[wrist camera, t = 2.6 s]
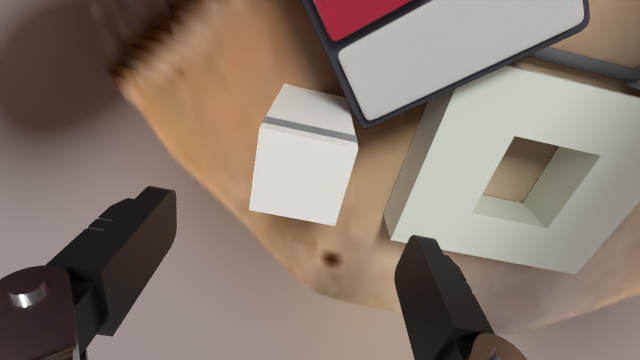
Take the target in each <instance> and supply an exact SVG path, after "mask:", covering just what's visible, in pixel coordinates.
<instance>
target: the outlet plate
mask: <svg viewBox="0 0 640 360" xmlns="http://www.w3.org/2000/svg"><path fill="white" fill-rule="evenodd" d="M514 136H517V137H521V138H526V139H530V140H534V141H539V142H543V143H548V144H552V145H556V146H559V148H558V149H557V151H556V152H555V154H554V156H553V157H552V159H551V160H550V162H549V163H548V165H547V166H546V168H545V169H544V171H543V172H542V174H541V176H540V177H539V179H538V180H537V182H536V183H535V185H534V186H533V188H532V189H531V191H530V192H529V194H528V195H527V197H526V199H525V200H524V202H523V203H519V202H514V201H509V200H504V199H499V198H494V197H489V196H485V195H482V193H483V191H484V190H485V188H486V186H487V184H488V182H489V181H490V179H491V177H492V175H493V174H494V172H495V170H496V168H497V166H498V165H499V163H500V161H501V159H502V158H503V156H504V154H505V152H506V151H507V149H508V147H509V145H510V143H511V142H512V140H513V138H514ZM639 202H640V97H638V96H634V95H630V94H626V93H622V92H618V91H614V90H610V89H606V88H601V87H597V86H593V85H589V84H585V83H581V82H577V81H573V80H569V79H565V78H561V77H557V76H553V75H549V74H545V73H541V72H537V71H533V70H529V69H525V68H521V67H517V66H513V65H507V66H505V67H502V68H500V69H498V70H496V71H494V72H491V73H489V74H487V75H485V76H483V77H480V78H478V79H476V80H474V81H472V82H470V83H467V84H465V85H463V86H461V87H459V88H456V89H454V90H452V91H450V92H448V93H446V94H443V95H441V96H439V97H437V98H435V99H432V100H430V101H428V102H427V105H426V107H425V110H424V113H423V115H422V118H421V120H420V123H419V125H418V128H417V130H416V133H415V135H414V138H413V140H412V143H411V146H410V148H409V151H408V153H407V156H406V158H405V161H404V163H403V166H402V168H401V171H400V174H399V176H398V179H397V181H396V184H395V186H394V189H393V191H392V194H391V196H390V199H389V202H388V204H387V207H386V209H385V212H384V218H385V222H386V225H387V229H388V233H389V236H390V240H393V241H398V242H403V243H407V242H408V240H409V238H410V237H411V236H412V235H418V236H423V237H429V238H434V239H436V240H437V242H438V244H439V246H440V248H441V250H446V251H451V252H457V253H462V254H467V255H473V256H478V257H483V258H489V259H494V260H500V261H505V262H510V263H516V264H521V265H526V266H532V267H537V268H542V269H548V270H553V271H558V272H564V273H569V274H574V275H576V274H577V273H578V272H579V271H580V270H581V268H582V267H583V266H584V265H585V264H586V263H587V262H588V260H589V259H590V258H591V257H592V256H593V255H594V254H595V252H596V251H597V250H598V249H599V248H600V247H601V246H602V244H603V243H604V242H605V241H606V240H607V239H608V238H609V236H610V235H611V234H612V233H613V232H614V231H615V229H616V228H617V227H618V226H619V225H620V224H621V223H622V221H623V220H624V219H625V218H626V217H627V216H628V215H629V213H630V212H631V211H632V210H633V209H634V208H635V207H636V205H637V204H638V203H639Z"/></svg>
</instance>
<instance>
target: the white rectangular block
mask: <svg viewBox="0 0 640 360" xmlns="http://www.w3.org/2000/svg"><path fill="white" fill-rule="evenodd" d="M358 149H359V148H358V141H357V137H356V135H355V131H354V126H353V122H352V118H351V113H350V109H349V104H348V100H347V98H345V97H341V96H337V95H332V94H328V93H323V92H319V91H314V90H310V89H306V88H301V87H297V86H292V85H288V84H284V85H283V87H282V89H281V90H280V92H279V94H278V96H277V98H276V99H275V101H274V103H273V105H272V106H271V108H270V110H269V112H268V114H267V115H266V116H265V118H264V119H263V121H262V124H261V126H260V129H259V137H258V144H257V152H256V160H255V168H254V176H253V183H252V191H251V199H250V207H249V210H252V211H258V212H263V213H268V214H274V215H279V216H284V217H290V218H295V219H300V220H306V221H311V222H316V223H322V224H327V225H332V226H335V224H336V221H337V218H338V214H339V211H340V208H341V204H342V201H343V198H344V195H345V191H346V188H347V185H348V181H349V178H350V175H351V172H352V168H353V165H354V162H355V158H356V155H357V152H358Z"/></svg>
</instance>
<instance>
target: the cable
mask: <svg viewBox="0 0 640 360" xmlns="http://www.w3.org/2000/svg"><path fill="white" fill-rule="evenodd" d="M529 57H533V58H537V59H541V60H545V61H549V62H553V63H556V64H560V65H564V66H568V67H572V68H576V69H580V70H584V71H588V72H592V73H596V74H600V75H604V76H608V77H612V78H616V79H620V80H624V81H628V82H627V83H626V85H625V86H628V87H632V88H636V89H640V65H639V66H638V67H637V69H633V68H629V67H625V66H621V65H617V64H613V63H609V62H606V61H602V60H598V59H594V58H590V57H586V56H582V55H578V54H574V53H571V52H567V51H563V50H559V49H555V48H551V47H546V48H544V49H542V50H539V51H537V52H535V53H533V54H531V55H529Z"/></svg>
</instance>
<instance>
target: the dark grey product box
mask: <svg viewBox="0 0 640 360" xmlns="http://www.w3.org/2000/svg"><path fill="white" fill-rule="evenodd" d="M301 2H302V4H303V6H304V8H305V10H306V12H307V15H308V17H309V19H310V21H311V23H312V25H313V27H314V30H315V32H316V34H317V36H318V38H319V40H320V42H321V45H322V47H323V49H324V51H325V53H326V55H327V57H328V60H329V62H330V64H331V66H332V68H333V70H334V72H335V75H336V77H337V79H338V81H339V83H340V85H341V88H342V90H343V92H344V94H345V96H346V98H347V100H348V103H349V105H350V107H351V109H352V111H353V113H354V115H355V118H356V120H357V122H358V124H359V125H360V126H361V127H362V128H365V129H367V128H371V127H373V126H376V125H378V124H380V123H382V122H384V121H387V120H389V119H391V118H393V117H395V116H397V115H400V114H402V113H404V112H406V111H408V110H411V109H413V108H415V107H417V106H419V105H421V104H424V103H426V102H428V101H430V100H432V99H435V98H437V97H439V96H441V95H443V94H446V93H448V92H450V91H452V90H454V89H456V88H459V87H461V86H463V85H465V84H467V83H470V82H472V81H474V80H476V79H478V78H480V77H483V76H485V75H487V74H489V73H491V72H494V71H496V70H498V69H500V68H502V67H505V66H507V65H509V64H511V63H513V62H515V61H518V60H520V59H522V58H524V57H526V56H529V55H531V54H533V53H535V52H537V51H539V50H542V49H544V48H546V47H548V46H550V45H553V44H555V43H557V42H559V41H561V40H564V39H566V38H568V37H570V36H572V35H574V34H576V33H579V32H580V31H582V30H583V29H584V28H585V27H586V26H587V25H588V23H589V20H590V13H589V2H588V0H301Z"/></svg>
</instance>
